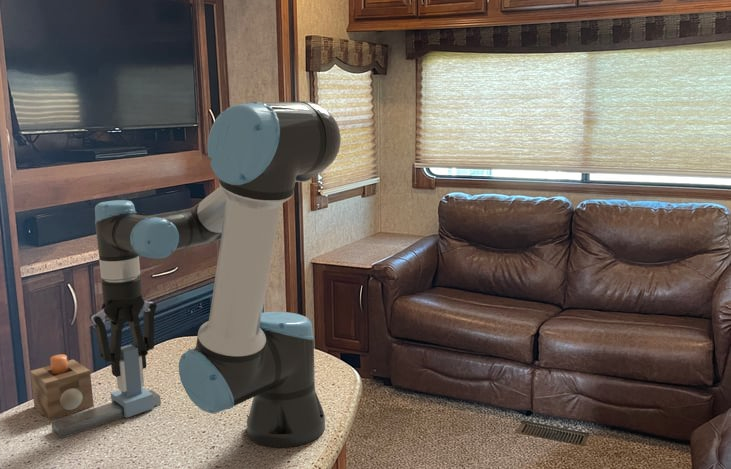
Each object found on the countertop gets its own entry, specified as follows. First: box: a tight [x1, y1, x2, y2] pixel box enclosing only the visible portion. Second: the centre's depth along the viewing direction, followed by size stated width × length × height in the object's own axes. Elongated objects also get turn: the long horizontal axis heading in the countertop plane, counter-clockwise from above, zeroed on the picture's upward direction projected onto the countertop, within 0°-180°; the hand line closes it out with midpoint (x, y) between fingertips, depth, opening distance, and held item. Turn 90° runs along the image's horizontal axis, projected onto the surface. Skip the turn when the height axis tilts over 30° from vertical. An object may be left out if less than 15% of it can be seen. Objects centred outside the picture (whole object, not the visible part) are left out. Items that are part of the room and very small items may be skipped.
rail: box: [51, 389, 162, 440], centre depth 141 cm, size 4×21×2 cm, turn 134°
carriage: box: [110, 344, 155, 418], centre depth 144 cm, size 7×6×13 cm
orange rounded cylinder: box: [49, 354, 68, 375], centre depth 145 cm, size 3×3×3 cm
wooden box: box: [29, 359, 95, 421], centre depth 146 cm, size 10×9×8 cm
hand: (131, 386), depth 144 cm, fingers closed on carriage, 3 cm apart
